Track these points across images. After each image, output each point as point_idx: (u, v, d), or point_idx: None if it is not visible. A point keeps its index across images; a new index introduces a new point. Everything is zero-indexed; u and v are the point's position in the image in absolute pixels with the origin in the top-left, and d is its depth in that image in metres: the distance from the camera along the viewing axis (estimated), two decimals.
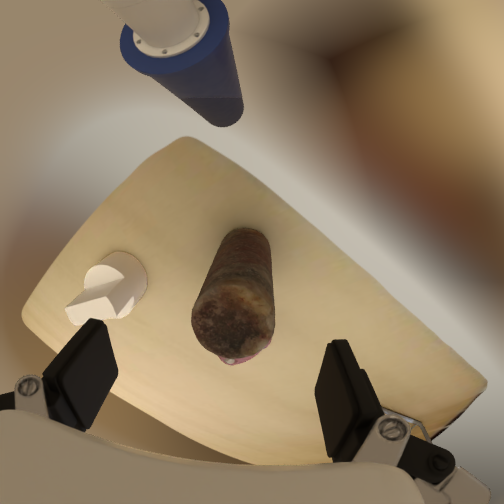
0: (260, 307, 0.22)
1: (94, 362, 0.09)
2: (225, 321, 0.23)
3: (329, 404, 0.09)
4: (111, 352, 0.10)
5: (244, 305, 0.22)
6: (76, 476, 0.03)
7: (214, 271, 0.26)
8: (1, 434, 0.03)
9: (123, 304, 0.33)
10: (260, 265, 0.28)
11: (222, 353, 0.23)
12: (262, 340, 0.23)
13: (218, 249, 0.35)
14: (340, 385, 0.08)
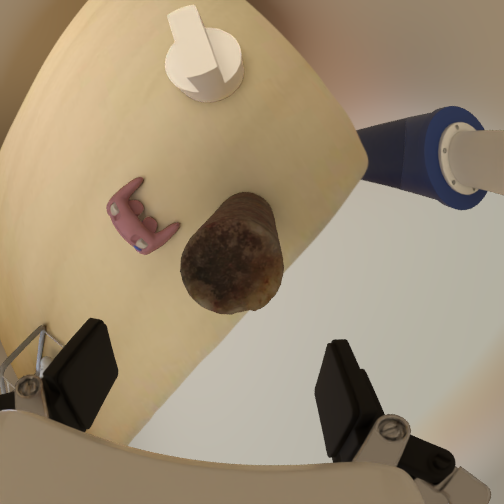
0: (257, 301, 0.19)
1: (93, 362, 0.09)
2: (233, 260, 0.19)
3: (329, 404, 0.09)
4: (111, 352, 0.10)
5: (258, 284, 0.19)
6: (76, 476, 0.03)
7: (273, 227, 0.22)
8: (1, 434, 0.03)
9: (196, 83, 0.23)
10: None
11: (187, 258, 0.18)
12: (211, 303, 0.19)
13: (260, 200, 0.31)
14: (340, 385, 0.08)
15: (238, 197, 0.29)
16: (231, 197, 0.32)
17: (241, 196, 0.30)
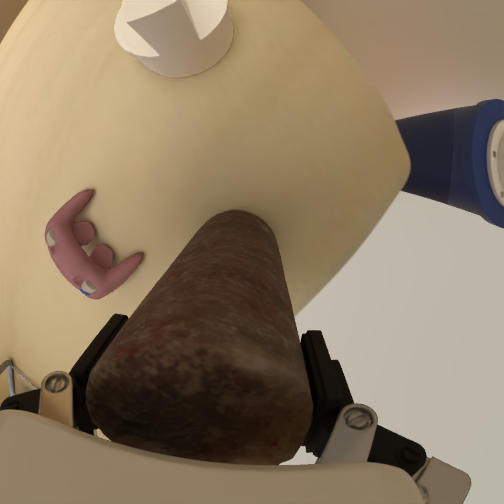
0: None
1: None
2: (199, 414, 0.07)
3: None
4: None
5: (255, 448, 0.07)
6: (76, 476, 0.03)
7: (286, 307, 0.10)
8: (1, 434, 0.03)
9: (148, 37, 0.11)
10: None
11: (98, 406, 0.06)
12: None
13: (258, 227, 0.19)
14: (310, 373, 0.08)
15: (221, 224, 0.18)
16: (211, 221, 0.20)
17: (226, 221, 0.18)
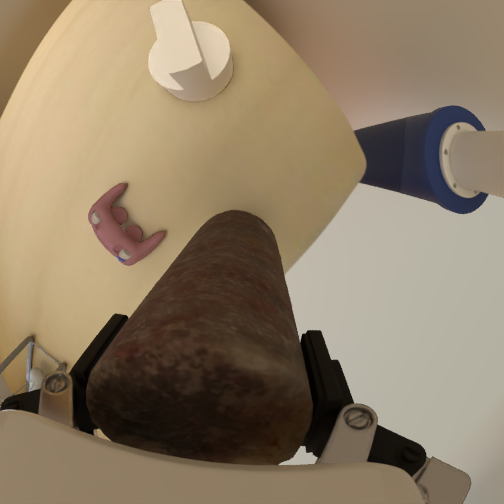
0: None
1: None
2: (199, 413, 0.07)
3: None
4: None
5: (255, 447, 0.07)
6: (76, 476, 0.03)
7: (286, 307, 0.10)
8: (1, 434, 0.03)
9: (180, 80, 0.21)
10: None
11: (98, 406, 0.06)
12: None
13: (258, 227, 0.19)
14: (310, 373, 0.09)
15: (221, 224, 0.18)
16: (211, 221, 0.20)
17: (226, 221, 0.18)
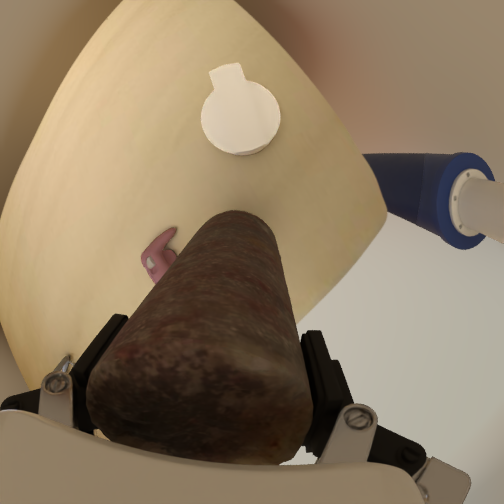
0: None
1: None
2: (199, 414, 0.07)
3: None
4: None
5: (256, 448, 0.07)
6: (76, 476, 0.03)
7: (286, 308, 0.10)
8: (1, 434, 0.03)
9: None
10: None
11: (98, 406, 0.06)
12: None
13: (258, 227, 0.19)
14: (310, 373, 0.08)
15: (221, 224, 0.18)
16: (211, 221, 0.20)
17: (226, 222, 0.18)
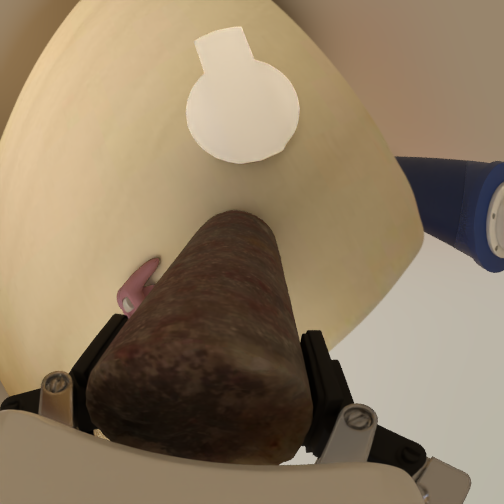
0: None
1: None
2: (199, 414, 0.07)
3: None
4: None
5: (255, 448, 0.07)
6: (76, 476, 0.03)
7: (286, 308, 0.10)
8: (1, 434, 0.03)
9: (243, 163, 0.18)
10: None
11: (98, 406, 0.06)
12: None
13: (258, 227, 0.19)
14: (310, 373, 0.08)
15: (221, 224, 0.18)
16: (211, 221, 0.20)
17: (226, 222, 0.18)
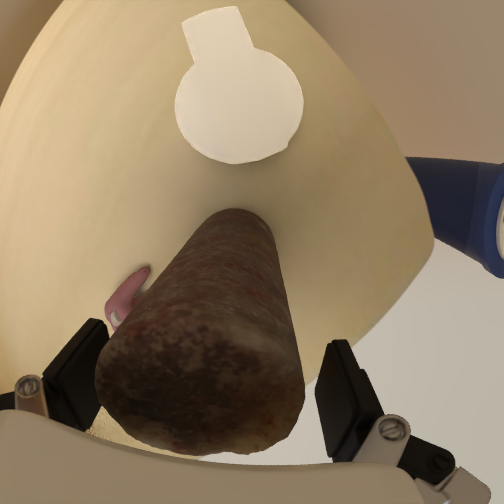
0: (251, 446, 0.08)
1: (93, 362, 0.09)
2: (199, 391, 0.08)
3: (329, 404, 0.09)
4: None
5: (252, 426, 0.08)
6: (76, 476, 0.03)
7: (281, 296, 0.11)
8: (1, 434, 0.03)
9: None
10: None
11: (105, 385, 0.07)
12: (167, 444, 0.08)
13: (256, 224, 0.20)
14: (340, 385, 0.08)
15: (220, 221, 0.19)
16: (211, 219, 0.21)
17: (225, 219, 0.19)
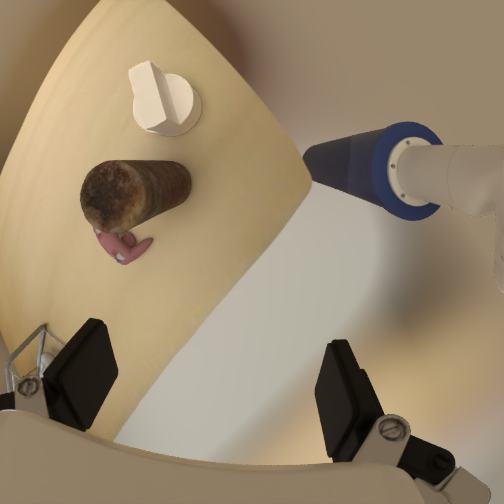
0: (127, 221, 0.24)
1: (93, 362, 0.09)
2: (112, 190, 0.23)
3: (329, 404, 0.09)
4: (111, 352, 0.10)
5: (127, 207, 0.23)
6: (76, 476, 0.03)
7: (153, 172, 0.27)
8: (1, 434, 0.03)
9: (154, 130, 0.30)
10: (160, 209, 0.30)
11: (84, 190, 0.22)
12: (99, 224, 0.24)
13: (171, 163, 0.35)
14: (340, 385, 0.08)
15: None
16: None
17: None
